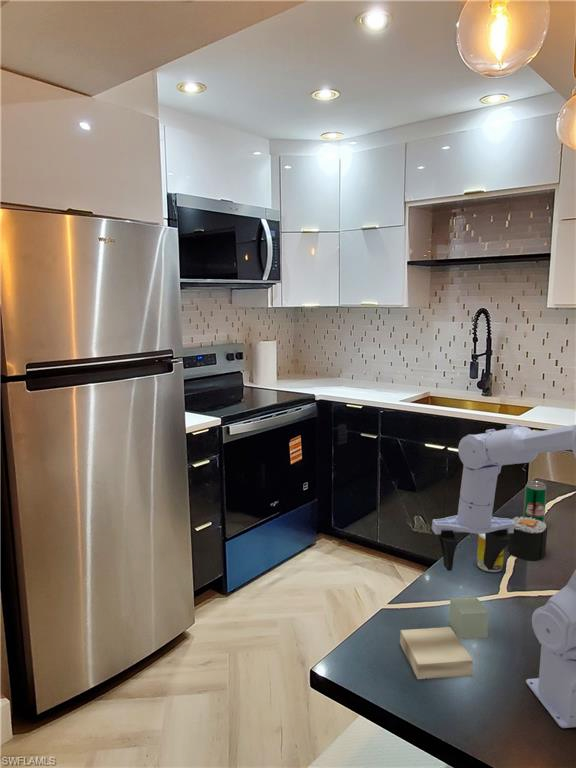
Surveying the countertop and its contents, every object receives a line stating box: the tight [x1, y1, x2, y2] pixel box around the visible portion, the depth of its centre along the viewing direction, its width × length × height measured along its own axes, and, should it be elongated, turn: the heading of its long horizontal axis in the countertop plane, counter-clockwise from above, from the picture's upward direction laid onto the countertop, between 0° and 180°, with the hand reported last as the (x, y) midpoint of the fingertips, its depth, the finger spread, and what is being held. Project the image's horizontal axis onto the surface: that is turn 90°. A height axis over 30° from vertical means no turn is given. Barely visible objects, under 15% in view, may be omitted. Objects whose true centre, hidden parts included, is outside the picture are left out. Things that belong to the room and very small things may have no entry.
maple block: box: [399, 626, 474, 680], centre depth 90 cm, size 9×9×3 cm
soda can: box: [522, 480, 547, 523], centre depth 142 cm, size 5×5×12 cm
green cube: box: [448, 596, 490, 641], centre depth 97 cm, size 5×5×5 cm
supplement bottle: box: [476, 533, 505, 573], centre depth 120 cm, size 6×6×10 cm
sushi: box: [507, 516, 548, 562], centre depth 127 cm, size 8×8×8 cm
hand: (467, 567), depth 98 cm, fingers open, 7 cm apart
